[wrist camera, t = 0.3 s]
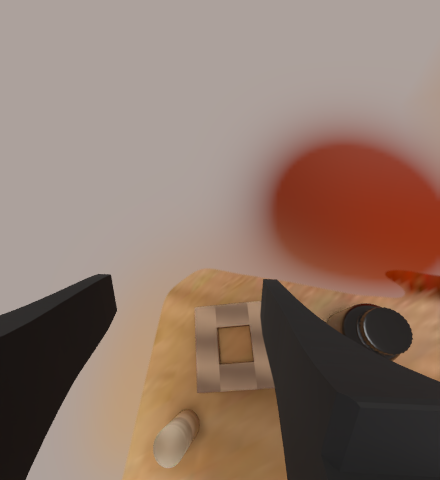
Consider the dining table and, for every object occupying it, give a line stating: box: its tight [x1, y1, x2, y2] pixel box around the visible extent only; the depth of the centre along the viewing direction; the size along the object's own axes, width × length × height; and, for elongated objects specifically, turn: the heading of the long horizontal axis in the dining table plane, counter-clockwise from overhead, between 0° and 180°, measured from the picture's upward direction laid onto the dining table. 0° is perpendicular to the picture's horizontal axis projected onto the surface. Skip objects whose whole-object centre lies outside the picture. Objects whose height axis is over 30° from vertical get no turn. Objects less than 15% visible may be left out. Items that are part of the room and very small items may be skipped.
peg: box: [153, 410, 199, 468], centre depth 30 cm, size 4×4×8 cm
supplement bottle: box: [327, 303, 413, 361], centre depth 30 cm, size 7×7×12 cm
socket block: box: [195, 301, 275, 393], centre depth 37 cm, size 12×12×2 cm
